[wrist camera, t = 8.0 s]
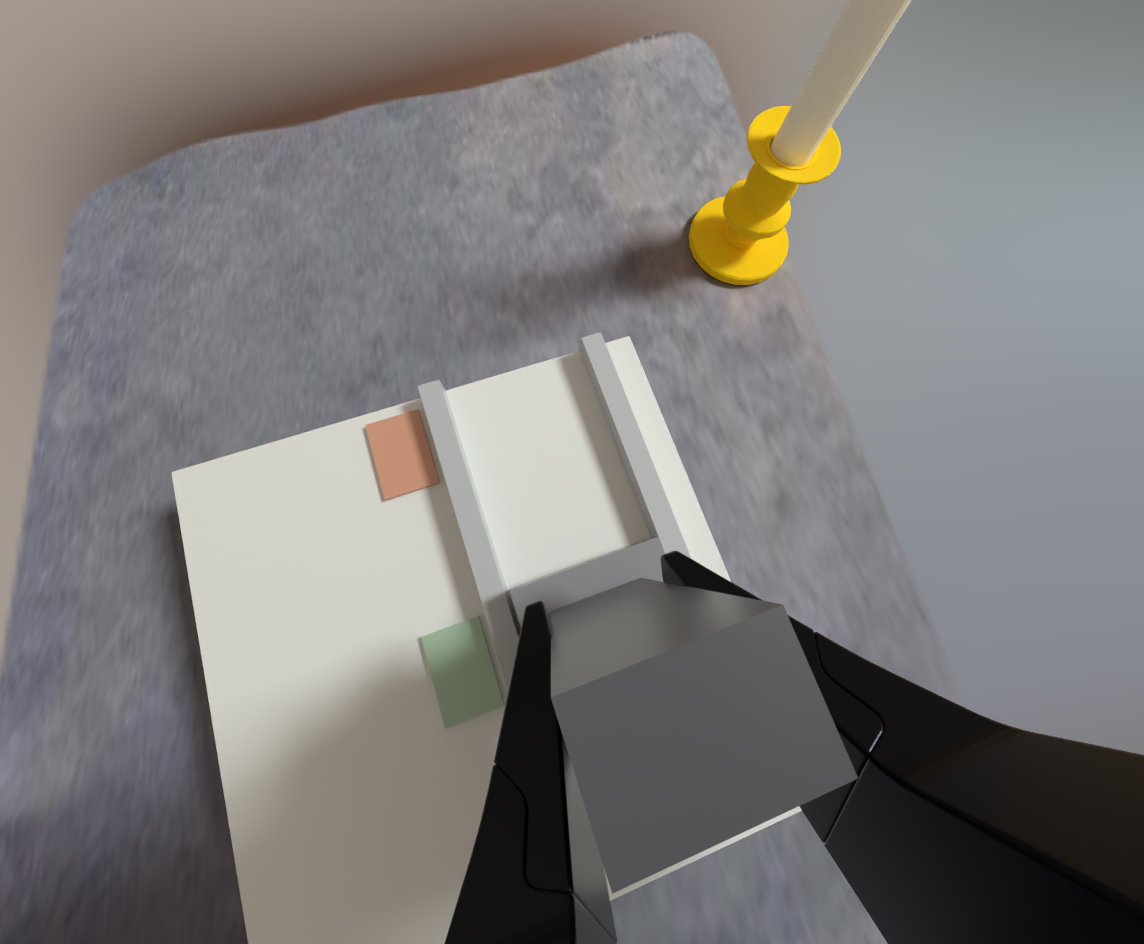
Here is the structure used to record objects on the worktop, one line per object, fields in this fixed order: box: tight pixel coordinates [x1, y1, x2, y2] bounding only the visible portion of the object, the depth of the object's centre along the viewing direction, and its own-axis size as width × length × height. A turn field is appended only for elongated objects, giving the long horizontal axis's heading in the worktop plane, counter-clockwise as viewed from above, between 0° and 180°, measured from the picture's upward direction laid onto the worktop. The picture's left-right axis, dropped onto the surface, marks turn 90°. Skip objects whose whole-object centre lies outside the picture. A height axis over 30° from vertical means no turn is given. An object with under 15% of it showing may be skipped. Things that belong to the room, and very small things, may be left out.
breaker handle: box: [510, 537, 858, 894], centre depth 9 cm, size 4×5×10 cm
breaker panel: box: [172, 332, 802, 944], centre depth 15 cm, size 18×18×4 cm
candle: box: [689, 0, 911, 285], centre depth 14 cm, size 5×5×16 cm
